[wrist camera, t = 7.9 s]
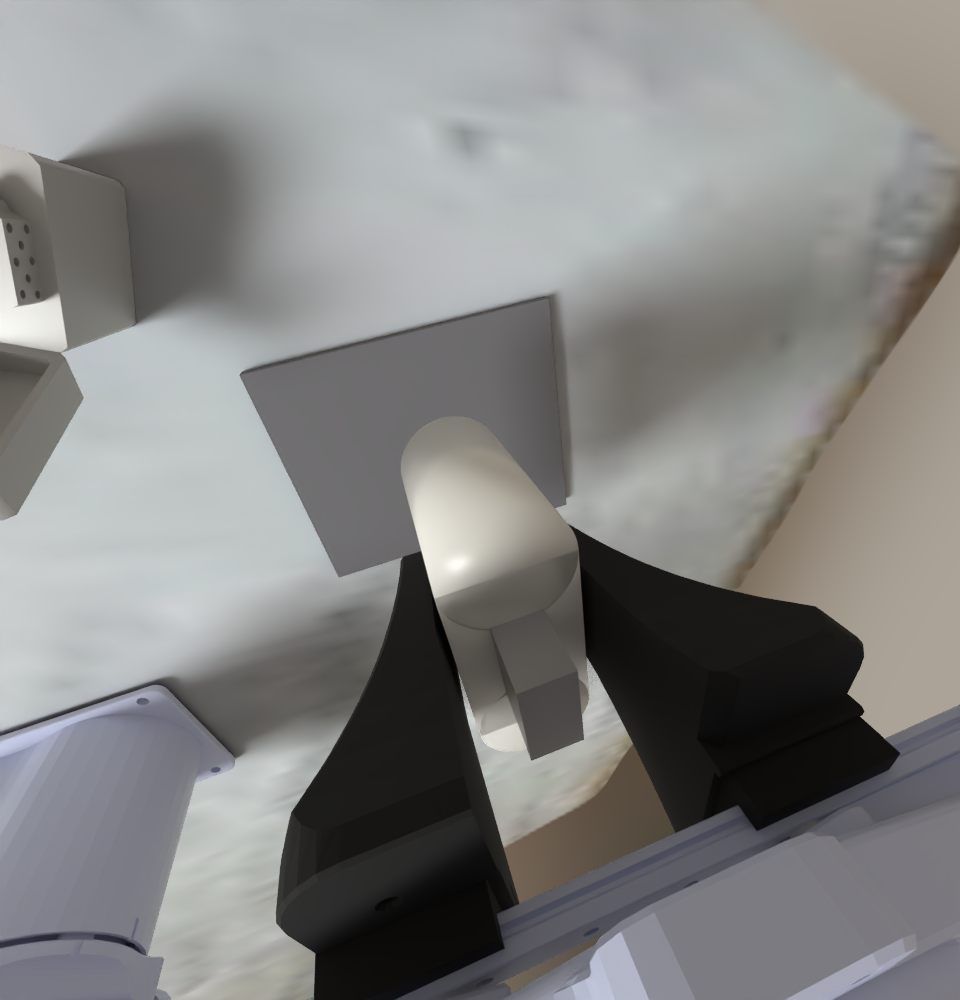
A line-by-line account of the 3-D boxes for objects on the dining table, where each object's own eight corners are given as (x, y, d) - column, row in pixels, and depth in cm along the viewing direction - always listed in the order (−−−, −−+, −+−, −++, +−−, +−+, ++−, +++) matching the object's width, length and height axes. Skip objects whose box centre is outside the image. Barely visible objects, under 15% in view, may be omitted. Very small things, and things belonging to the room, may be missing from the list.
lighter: (47, 159, 12) (-324, 45, 5) (124, 182, 13) (-122, 105, 6) (83, 404, 15) (-125, 529, 8) (143, 413, 16) (-5, 535, 9)
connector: (451, 629, 16) (509, 831, 10) (387, 433, 11) (429, 601, 6) (526, 603, 16) (622, 784, 11) (492, 403, 12) (623, 536, 6)
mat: (339, 570, 21) (338, 577, 21) (241, 371, 16) (239, 375, 15) (562, 499, 23) (566, 504, 22) (544, 297, 17) (549, 298, 17)
